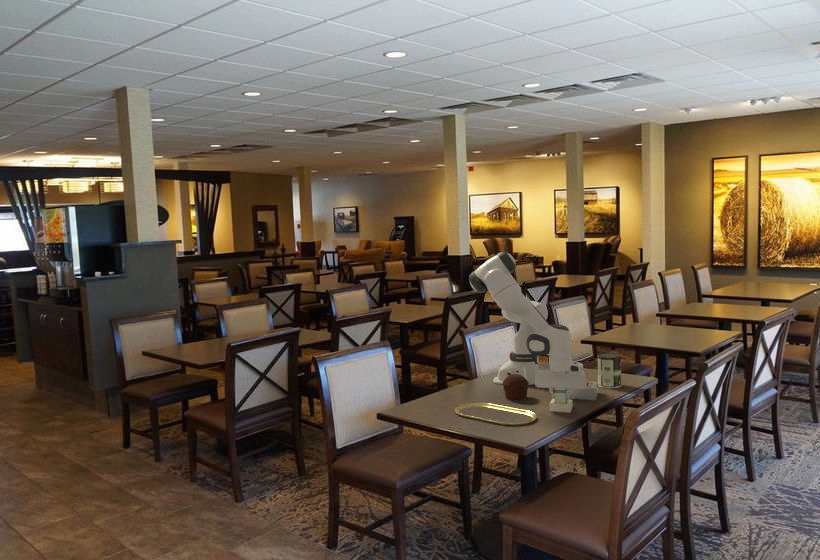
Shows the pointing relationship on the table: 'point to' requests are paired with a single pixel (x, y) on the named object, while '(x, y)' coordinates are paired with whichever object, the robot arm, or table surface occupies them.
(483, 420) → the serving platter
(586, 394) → the port
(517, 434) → the table surface
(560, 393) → the plug
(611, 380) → the coffee can
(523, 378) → the muffin
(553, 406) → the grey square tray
